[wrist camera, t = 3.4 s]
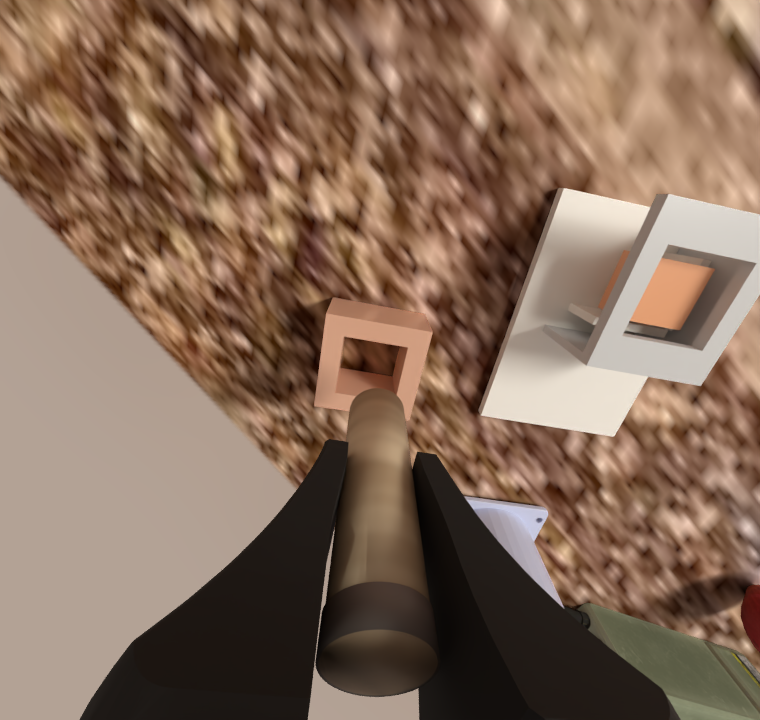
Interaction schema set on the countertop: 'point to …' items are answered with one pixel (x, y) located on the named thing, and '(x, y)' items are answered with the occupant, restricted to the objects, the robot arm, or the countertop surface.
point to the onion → (752, 614)
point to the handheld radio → (680, 665)
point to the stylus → (377, 564)
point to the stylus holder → (375, 326)
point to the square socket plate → (618, 308)
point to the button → (666, 292)
